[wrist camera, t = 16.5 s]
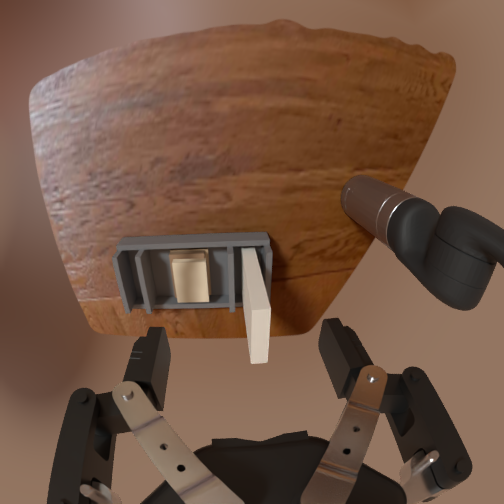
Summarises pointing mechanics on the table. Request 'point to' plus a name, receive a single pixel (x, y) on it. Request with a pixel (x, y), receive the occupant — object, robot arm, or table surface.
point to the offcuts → (190, 274)
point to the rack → (160, 278)
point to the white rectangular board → (255, 305)
